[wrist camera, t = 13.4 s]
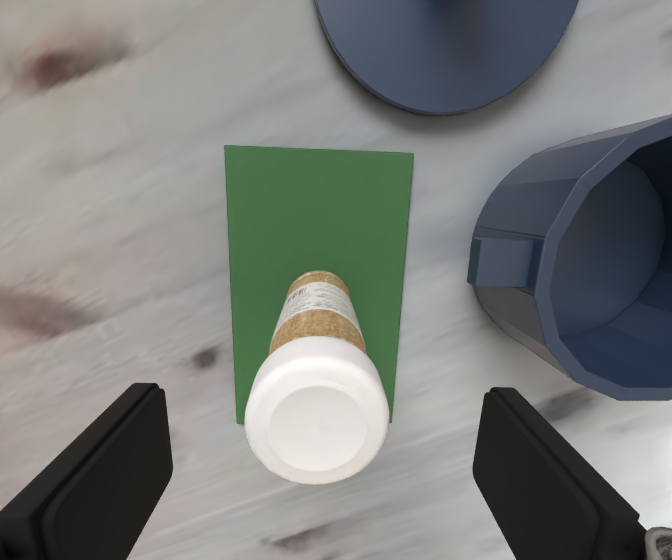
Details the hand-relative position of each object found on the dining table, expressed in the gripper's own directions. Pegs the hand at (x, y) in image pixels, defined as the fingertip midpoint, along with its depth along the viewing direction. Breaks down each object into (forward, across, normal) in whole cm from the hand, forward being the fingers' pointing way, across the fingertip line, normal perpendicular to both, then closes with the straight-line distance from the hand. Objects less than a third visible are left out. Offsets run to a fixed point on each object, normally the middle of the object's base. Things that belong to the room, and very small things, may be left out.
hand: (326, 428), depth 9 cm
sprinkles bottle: (+14, 0, 0) cm, 14 cm away
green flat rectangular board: (+14, +1, 0) cm, 14 cm away
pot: (+14, -17, -4) cm, 23 cm away
